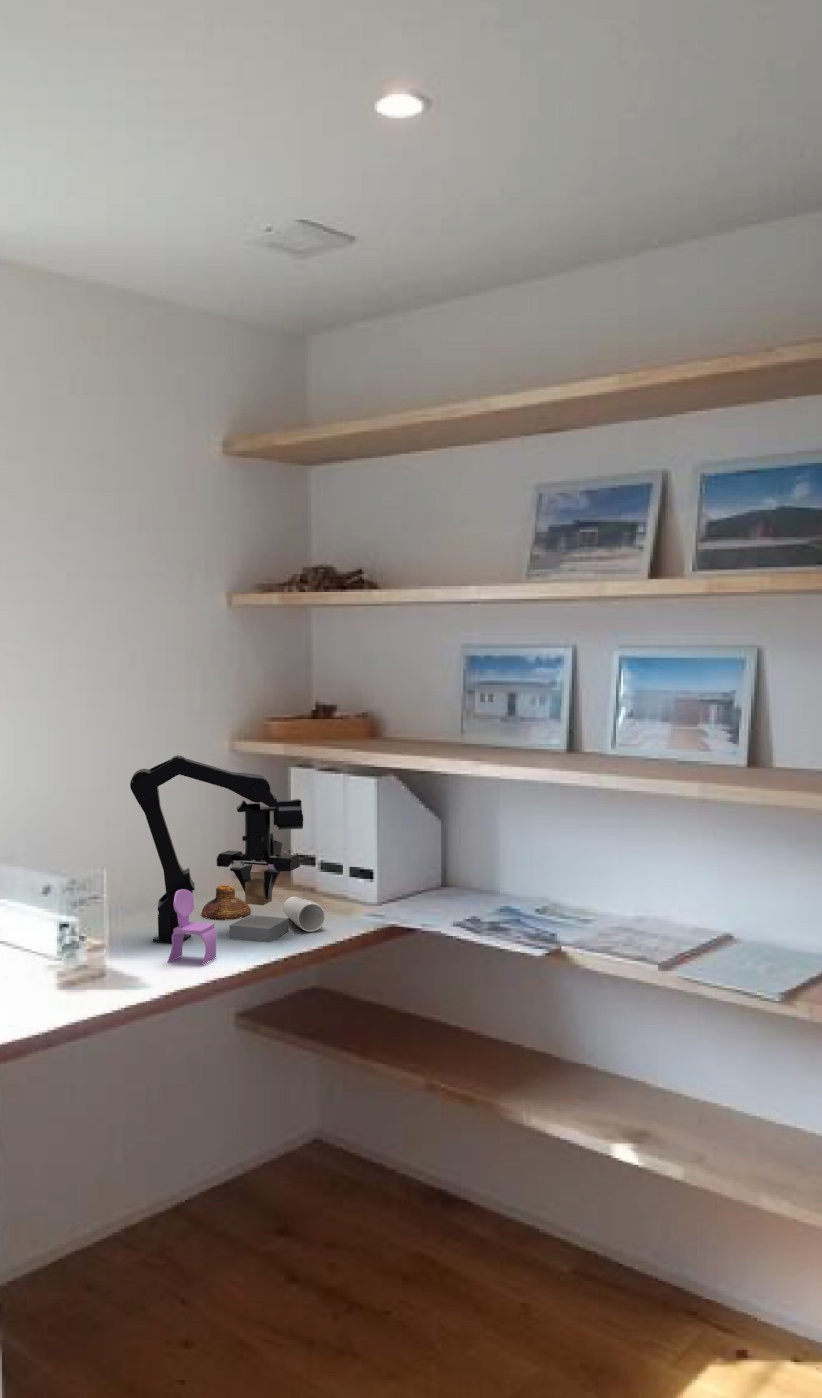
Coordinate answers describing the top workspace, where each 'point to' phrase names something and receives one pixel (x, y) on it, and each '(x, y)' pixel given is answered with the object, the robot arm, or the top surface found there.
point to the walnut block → (256, 892)
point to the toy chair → (191, 927)
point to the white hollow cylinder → (304, 913)
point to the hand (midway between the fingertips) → (258, 897)
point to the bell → (225, 905)
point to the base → (259, 928)
